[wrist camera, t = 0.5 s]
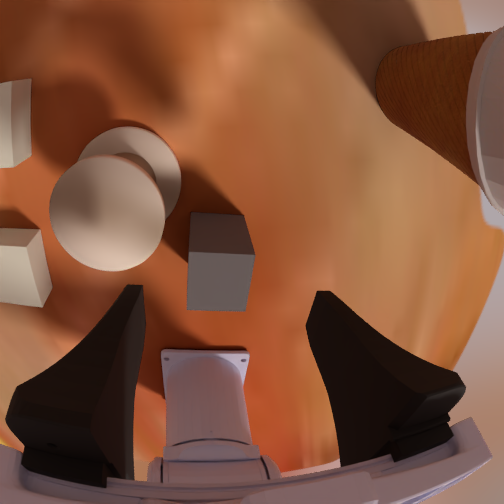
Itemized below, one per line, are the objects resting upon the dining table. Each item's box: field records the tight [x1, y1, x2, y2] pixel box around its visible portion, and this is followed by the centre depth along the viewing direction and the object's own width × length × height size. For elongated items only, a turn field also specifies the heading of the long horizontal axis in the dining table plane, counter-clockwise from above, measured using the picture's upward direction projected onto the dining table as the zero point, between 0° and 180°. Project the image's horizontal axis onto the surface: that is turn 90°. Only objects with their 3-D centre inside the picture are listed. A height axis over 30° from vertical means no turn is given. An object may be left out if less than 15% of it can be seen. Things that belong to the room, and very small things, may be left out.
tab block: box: [187, 212, 255, 311], centre depth 20 cm, size 4×4×5 cm
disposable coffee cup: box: [376, 26, 504, 215], centre depth 13 cm, size 10×10×12 cm
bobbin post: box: [49, 126, 181, 271], centre depth 16 cm, size 7×7×6 cm
